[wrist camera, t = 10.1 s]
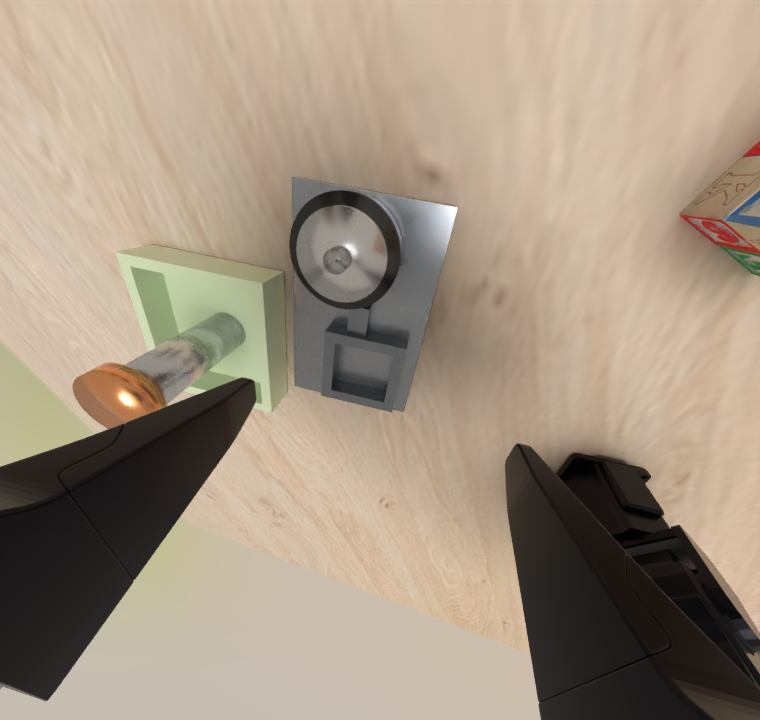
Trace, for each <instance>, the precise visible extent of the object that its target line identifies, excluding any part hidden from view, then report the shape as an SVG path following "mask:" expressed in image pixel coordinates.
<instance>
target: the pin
mask: <svg viewBox="0 0 760 720" xmlns="http://www.w3.org/2000/svg"><path fill="white" fill-rule="evenodd" d="M245 337H246V334H245V330H244V328H243V326H242V324H241V323H240V322H239V321H238V320H237V319H236V318H235V317H234V316H232V315H230V314H228V313H223V312H219V313H216V314H214V315H212V316H210V317H209V318H207V319H205V320H203V321H202V322H200V323H198V324H196V325H194V326H193V327H191V328H189V329H187V330H186V331H184V332H182V333H180V334H179V335H177V336H175V337H173V338H172V339H170V340H168V341H166V342H164V343H163V344H161V345H159V346H157V347H156V348H154V349H152V350H150V351H149V352H147V353H145V354H143V355H141V356H140V357H138V358H136V359H134V360H133V361H131V362H129V363H127V364H126V365H121V364H117V363H105V364H102V365H100V366H98V367H96V368H94V369H92V370H91V371H89V372H87V373H85V374H83V375H81V376H79V377H77V378H76V379H75V380H74V382H73V392H74V395H75V397H76V399H77V401H78V402H79V404H80V405H81V407H82V408H83V409H84V410H85V411H86V412H87V413H88V414H89V415H90V416H91V417H92V418H93V419H95V420H96V421H97V422H98V423H100V424H101V425H103V426H104V427H106V428H108V429H111V428H113V427H116V426H118V425H121V424H126V422H129V421H131V420H134V419H136V418H139V417H141V416H144V415H146V414H149V413H152V412H154V411H157V410H159V409H162V408H164V407H167V404H168V403H169V402H170V401H171V400H173V399H174V398H175V397H176V396H178V395H179V394H180V393H181V392H183V391H184V390H185V389H186V388H188V387H189V386H190V385H191V384H193V383H194V382H195V381H196V380H198V379H199V378H200V377H201V376H203V375H204V374H205V373H207V372H208V371H209V370H210V369H212V368H213V367H214V366H215V365H217V364H218V363H219V362H220V361H222V360H223V359H224V358H225V357H227V356H228V355H229V354H230V353H232V352H233V351H234V350H235V349H237V348H238V347H239V346H240V345H242V344H243V343H244V341H245Z"/></svg>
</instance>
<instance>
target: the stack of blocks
mask: <svg viewBox="0 0 760 720" xmlns="http://www.w3.org/2000/svg"><path fill="white" fill-rule="evenodd" d="M680 216H681V217H683V218H684V219H685V220H686V221H688V222H689V223H690V224H691V225H692V226H694V227H695V228H696V229H697V230H699V231H700V232H701V233H702V234H704V235H705V236H706V237H707V238H709V239H710V240H711V241H712V242H713V243H715V244H716V245H719V246H720V247H722V248H723V249H724V250H725V251H726V252H728V253H729V254H730V255H731V256H732V257H734V258H735V259H736V260H737V261H738V262H740V263H741V264H742V265H743V266H744V267H746V268H747V269H748V270H749V271H750V272H751V273H753V274H755V275H757V276H760V142H759V143H757V144H756V145H755V146H754V147H753V148H752V149H751V150H750V151H749V152H748V153H746V154H745V155H744V156H743V157H742V158H741V159H740V160H738V161H737V162H736V163H735V164H734V165H732V166H731V167H730V168H729V169H728V170H727V171H726V172H725V173H724V174H723V175H721V176H720V177H719V178H718V179H717V180H716V181H715V182H714V183H713V184H711V185H710V186H709V187H708V188H707V189H706V190H705V191H704V192H703V193H702V194H700V195H699V196H698V197H697V198H696V199H695V200H694V201H693V202H692V203H691V204H689V205H688V206H687V207H686V208H685V209H684V210H683V211H682V212H681V213H680Z"/></svg>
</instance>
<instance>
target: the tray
mask: <svg viewBox="0 0 760 720" xmlns="http://www.w3.org/2000/svg"><path fill="white" fill-rule="evenodd" d="M116 255H117V258H118V261H119V264H120V267H121V270H122V273H123V276H124V279H125V282H126V285H127V288H128V291H129V294H130V297H131V300H132V303H133V306H134V309H135V312H136V315H137V318H138V321H139V324H140V327H141V330H142V333H143V336H144V339H145V342H146V345H147V348H148V351H150V350H152V349H154V348H156V347H157V346H159V345H161V344H163V343H164V342H166V341H168V340H170V339H172V338H173V337H175V336H177V335H179V334H180V333H182V332H184V331H186V330H187V329H189V328H191V327H193V326H194V325H196V324H198V323H200V322H202V321H203V320H205V319H207V318H209V317H210V316H212V315H214V314H216V313H219V312H223V313H228V314H230V315H232V316H234V317H235V318H236V319H237V320H238V321H239V322H240V323H241V324H242V326H243V328H244V330H245V334H246V337H245V341H244V343H243V344H242V345H240V346H239V347H238V348H237V349H235V350H234V351H233V352H232V353H230V354H229V355H228V356H227V357H225V358H224V359H223V360H222V361H220V362H219V363H218V364H217V365H215V366H214V367H213V368H212V369H210V370H209V371H208V372H207V373H205V374H204V375H203V376H201V377H200V378H199V379H198V380H196V381H195V382H194V383H193V384H191V385H190V386H189V387H188V388H186V389H185V390H184V391H185V392H189V393H193V394H200V393H203V392H205V391H208V390H210V389H213V388H215V387H218V386H220V385H223V384H225V383H228V382H231V381H233V380H236V379H238V378H241V377H244V378H248V379H252V380H254V382H255V388H256V403H255V405H254V407H253V409H257V410H261V411H266V412H270V413H272V412H273V410H274V409H275V408H276V406H277V405H278V404H279V402H280V401H281V400H282V398H283V397H284V396H285V394H286V393H287V358H286V324H285V291H284V272H283V271H278V270H273V269H268V268H264V267H259V266H254V265H249V264H245V263H240V262H235V261H230V260H225V259H221V258H216V257H211V256H206V255H202V254H197V253H192V252H187V251H183V250H178V249H173V248H168V247H164V246H159V245H149V246H144V247H139V248H134V249H129V250H124V251H119V252H116Z"/></svg>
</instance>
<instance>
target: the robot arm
mask: <svg viewBox="0 0 760 720" xmlns="http://www.w3.org/2000/svg"><path fill="white" fill-rule="evenodd" d="M255 403H256V388H255V382H254V380H252V379H248V378H244V377H241V378H238V379H236V380H233V381H231V382H228V383H225V384H223V385H220V386H218V387H215V388H213V389H210V390H208V391H205V392H203V393H200V394H197V395H195V396H192V397H190V398H187V399H185V400H182V401H180V402H177V403H175V404H172V405H169V406H167V407H164V408H162V409H159V410H157V411H154V412H152V413H149V414H146V415H144V416H141V417H139V418H136V419H134V420H131V421H129V422H126V424H121V425H118V426H116V427H113V428H111V429H108V430H105V431H103V432H100V433H97V434H95V435H92V436H89V437H87V438H84V439H81V440H78V441H75V442H73V443H70V444H67V445H64V446H61V447H58V448H55V449H52V450H50V451H46V452H44V453H40V454H37V455H34V456H31V457H28V458H25V459H22V460H19V461H16V462H13V463H10V464H7V465H4V466H1V467H0V689H1V688H2V687H6V688H9V689H12V690H15V691H18V692H20V693H23V694H26V695H29V696H32V697H35V698H38V699H41V700H44V701H47V700H48V699H49V698H50V697H51V696H52V695H53V693H54V692H55V691H56V689H57V688H58V687H59V685H60V684H61V683H62V681H63V679H64V678H65V677H66V676H67V674H68V673H69V671H70V670H71V669H72V667H73V666H74V664H75V663H76V661H77V660H78V659H79V657H80V656H81V655H82V653H83V652H84V650H85V649H86V648H87V646H88V645H89V643H90V642H91V641H92V639H93V638H94V636H95V635H96V634H97V632H98V631H99V629H100V628H101V627H102V625H103V624H104V622H105V621H106V620H107V618H108V617H109V616H110V614H111V613H112V611H113V610H114V608H115V607H116V606H117V604H118V603H119V601H120V600H121V599H122V597H123V596H124V594H125V593H126V592H127V590H128V589H129V588H130V586H131V585H132V583H133V580H134V579H136V577H137V576H138V575H139V573H140V572H141V570H142V569H143V568H144V566H145V565H146V564H147V562H148V560H149V559H150V558H151V556H152V555H153V554H154V552H155V551H156V550H157V548H158V547H159V545H160V544H161V542H162V541H163V540H164V538H165V537H166V536H167V534H168V533H169V531H170V530H171V529H172V527H173V526H174V524H175V523H176V522H177V520H178V519H179V517H180V516H181V515H182V513H183V512H184V510H185V509H186V508H187V506H188V505H189V503H190V502H191V501H192V499H193V498H194V496H195V495H196V494H197V492H198V491H199V490H200V488H201V487H202V485H203V484H204V483H205V481H206V480H207V478H208V477H209V476H210V474H211V473H212V471H213V470H214V469H215V467H216V466H217V464H218V463H219V462H220V460H221V459H222V457H223V456H224V455H225V453H226V452H227V450H228V449H229V448H230V446H231V445H232V443H233V442H234V440H235V439H236V437H237V435H238V433H239V432H240V430H241V428H242V426H243V425H244V423H245V421H246V419H247V417H248V416H249V414H250V412H251V410H252V409H253V407H254V405H255ZM505 474H506V494H507V511H508V518H509V525H510V531H511V537H512V543H513V549H514V555H515V561H516V568H517V574H518V580H519V586H520V592H521V598H522V604H523V610H524V617H525V623H526V629H527V635H528V641H529V647H530V653H531V658H532V665H533V672H534V678H535V684H536V690H537V696H538V701H539V702H540V703H539V710H540V716H541V720H760V657H759V656H758V654H760V633H759V631H758V630H757V628H756V626H755V625H754V623H753V622H752V620H751V618H750V617H749V615H748V613H747V612H746V610H745V609H744V607H743V605H742V604H741V602H740V601H739V599H738V597H737V596H736V594H735V593H734V592H733V590H732V589H731V588H730V586H729V585H728V584H727V582H726V581H725V580H724V578H723V577H722V575H721V574H720V573H719V571H718V570H717V569H716V567H715V566H714V565H713V563H712V562H711V561H710V559H709V558H708V557H707V556H706V554H705V553H704V552H703V551H702V550H701V549H700V548H699V546H698V545H697V544H696V543H695V542H694V541H693V540H692V538H691V537H690V536H689V535H688V534H687V533H686V532H685V530H684V529H683V528H682V527H681V526H680V525H676V526H672V527H671V529H670V527H669V526H668V524H667V523H666V522H665V520H664V519H663V517H662V516H663V515H664V512H663V510H662V508H661V507H660V505H659V504H658V502H657V501H656V500H655V498H654V497H653V495H652V494H651V492H650V491H649V489H648V488H647V486H646V485H645V483H646V482H647V481H648V480H649V479H650V478H651V475H650V474H649V473H648V471H646V470H643V469H639V468H635V467H631V466H627V465H622V464H618V463H614V462H610V461H606V460H602V459H597V458H593V457H589V456H585V455H581V454H574V455H572V456H571V457H570V458H569V459H568V461H567V462H566V463H565V465H564V466H563V467H562V468H561V470H560V471H559V472H558V474H557V475H556V474H555V473H554V472H553V471H552V469H551V468H550V467H549V466H548V465H547V464H546V463H545V462H544V461H543V460H542V458H541V457H540V456H539V455H538V454H537V453H536V452H535V451H534V450H533V449H532V448H531V447H530V446H527V445H523V444H516V445H515V446H514V447H513V449H512V451H511V452H510V454H509V456H508V457H507V459H506V463H505ZM757 653H758V654H757Z"/></svg>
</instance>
